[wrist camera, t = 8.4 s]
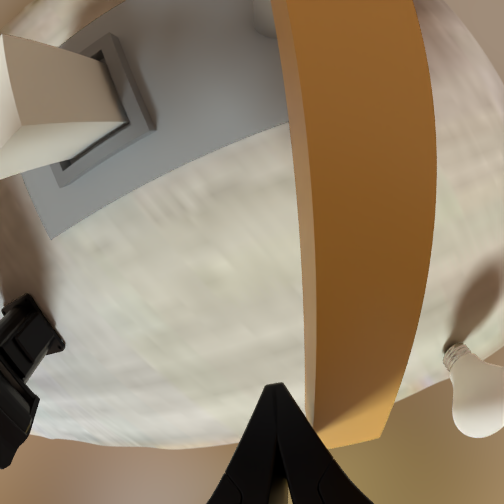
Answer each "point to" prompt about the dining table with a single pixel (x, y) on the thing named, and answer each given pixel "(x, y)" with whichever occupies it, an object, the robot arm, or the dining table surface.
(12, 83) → the plug
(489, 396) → the light bulb
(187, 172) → the dining table surface
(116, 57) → the socket board
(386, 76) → the bar
